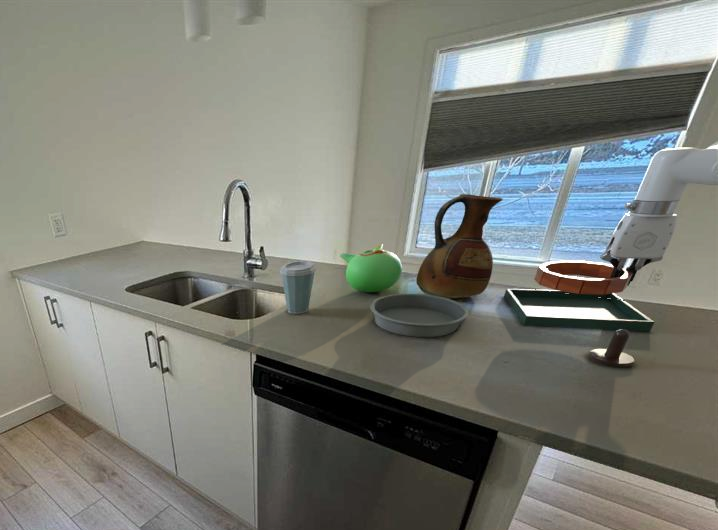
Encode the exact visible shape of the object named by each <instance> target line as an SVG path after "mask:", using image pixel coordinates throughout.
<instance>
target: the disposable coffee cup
mask: <svg viewBox="0 0 718 530" xmlns="http://www.w3.org/2000/svg"><path fill="white" fill-rule="evenodd" d="M315 273H316V267H315V264H314V262H313V261H310V260H301V259H300V260H294V261H290V262H287V263H285V264H284V265H282V266H281V268H280V274H281V279H282V286H283V291H284V299H285V304H286V311H287V312H288V313H289V314H293V315H298V314H300V315H301V314H306V313H307V312H308V310H309V306H310V301H311V296H312V289H313V284H314V277H315Z"/></svg>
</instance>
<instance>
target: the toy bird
mask: <svg viewBox="0 0 718 530" xmlns="http://www.w3.org/2000/svg"><path fill="white" fill-rule="evenodd" d="M383 248H384V244H383V243H380V244H378V245H376V246H375V247H374V248H373V249H370V250H365V251H363V252H360V253H358V254H351V253H339V257H340V258H341V259H343V260H344V261H345V262H347V263H348V264H347V266H346V269H345V277H346V280H347V283H348V284H349V286H351V287H352V288H353V289H355V290H357V291H359V292H363V293H377V292H378V293H379V292H382V291H385V290H387V289H390V288H391V287H392V286H394V285H395V284H396V283H397V282H398V281H399V280H400V278H401V275H402V272H403V265H402V262H401V260H400V258H399V257H398V256H397V255H396V254H395V253H394V252H391V251H389V250H386V249H383Z"/></svg>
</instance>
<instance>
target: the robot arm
mask: <svg viewBox="0 0 718 530" xmlns="http://www.w3.org/2000/svg"><path fill="white" fill-rule="evenodd" d="M688 184H695V185H706V186H718V140H717V141H716V142H714V143H713V144H711V145H710V146H708V147H707V148H703V149H701V148H697V147H673V148H671V147H670V148H664V149H661V150H658V151H657V152H656V153H654V155H652V157H651V160H650V162H649V165H648V167H647V169H646V172H645V173H644V177H643V178H642V181H641V184H640V185H639V188H638V191H637V193H636V196H635V197H634V199H633V200H632V202H630V203H626V204H625V205H624V207H623V209H624V210H628V213H627V212H626V213H625V214H624V215H623V217H622V218H621V220H620V221H619V223H618V224H617V226H616V227H615V229H614V231H613V233H612V235H611V236H610V240H608V243H607V245H606V248H605V250H604V252H603V253H602V254H601V255H600V257H599V258H600V260H602V261H605V262H608V263H610V265H613V267H614V269H613V272H612V274H611V276H610V278H616V277H621V276H622V275H623V273H624V272H625V271H624V270H623V268H625V265H626V262H627V260H628V259H632V261H631V263H630V264H629V266H627V267H626V268H625V269H626V270H628V271H630V272H631V273H632V276H631V279H630V281H629V283H628V285H627V287H629V286H630V284H631V283H632V282H633V281H634V279H635V277H636V274H637V273H638V271H640V270H641V269H642V268H644V267H645V266H647V265H649V264H650V263H651V264H652V263H655V262H656V263H657V262H659V261H662V260H663V259H664V256H665V254H666V252H667V251H668V248H669V246H670V243H671V241H672V238H673V235H674V233H675V229H676V225H677V221H678V213H677V214H676V213H675V211H676V209H677V207H678V205H679V203H680V201H681V198H683V197H682V196H683V195H684V192H685V190H686V188H687V186H688Z"/></svg>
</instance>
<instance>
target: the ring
mask: <svg viewBox="0 0 718 530" xmlns="http://www.w3.org/2000/svg"><path fill="white" fill-rule="evenodd" d="M613 269H614V267H613V265H612V264H609V263H604V262H593V261H585V260H556V261H549V262H547V261H546V262H543V263H542V264H540V265H538V267H537V270H536V273H535V276H534V281H535V282H536V283H537V284H538V285H539V286H542V287H545V288H548V289H550V290H558V291H565V292H571V293H577V294H579V293H580V294H599V295H603V294H612V293H615V294H619V293H622V292H624V291H625V290H626V288H627V287H628V286H627V285H628V283H629V281H630V279H631V276H632V273H631V272H630V271H628V270H626V268H625V267H624V268H623V270H624V271H625V272H624V273H623V275H622V276H621V277H616V278H610V276H611V274H612V272H613ZM577 276H578V277H577ZM579 276H580V277H579ZM581 276H582V277H581ZM586 277H587V278H586Z"/></svg>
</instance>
